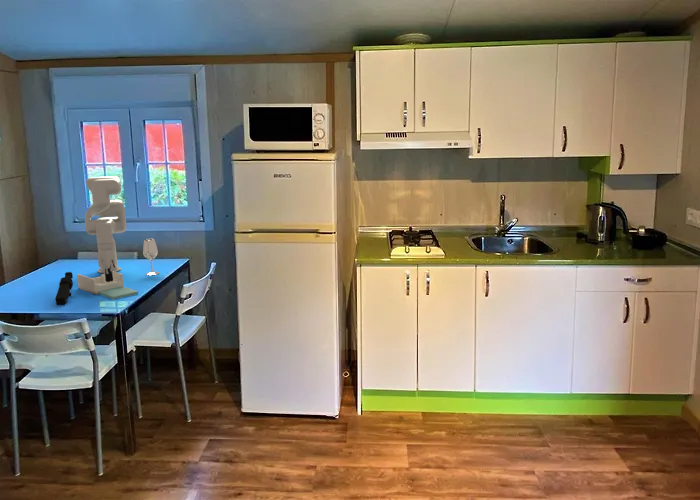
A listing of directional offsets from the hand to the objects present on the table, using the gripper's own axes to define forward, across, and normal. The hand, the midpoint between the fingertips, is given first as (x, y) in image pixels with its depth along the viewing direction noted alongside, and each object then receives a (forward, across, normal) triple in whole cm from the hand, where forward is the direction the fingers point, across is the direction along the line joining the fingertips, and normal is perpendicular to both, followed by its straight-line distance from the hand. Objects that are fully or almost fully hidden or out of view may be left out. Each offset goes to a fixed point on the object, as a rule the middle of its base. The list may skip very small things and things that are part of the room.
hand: (109, 281), depth 307 cm
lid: (+6, +8, 0) cm, 10 cm away
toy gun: (+6, -5, -20) cm, 22 cm away
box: (+6, -10, 0) cm, 12 cm away
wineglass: (+6, -18, +34) cm, 39 cm away
